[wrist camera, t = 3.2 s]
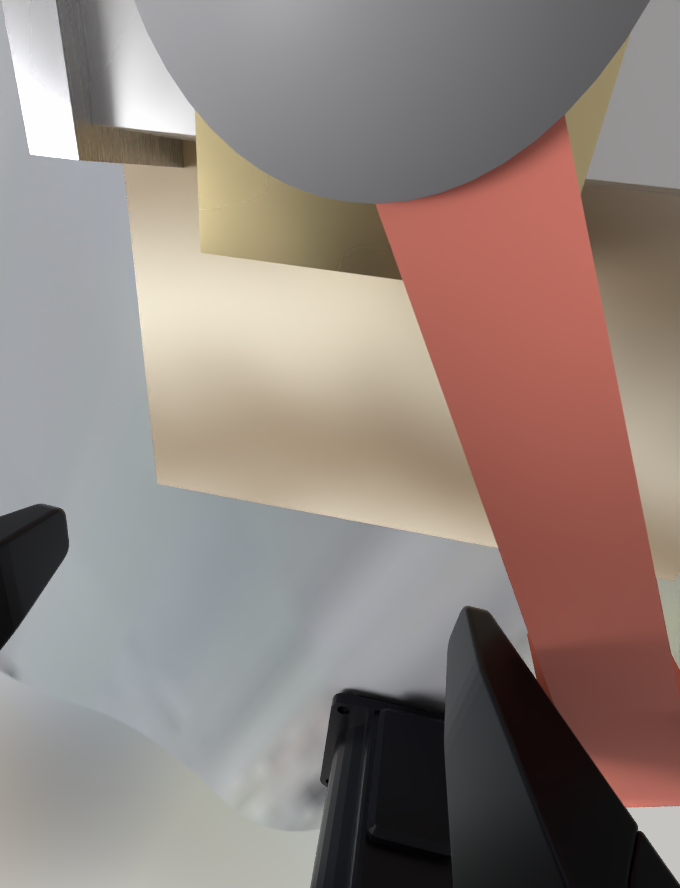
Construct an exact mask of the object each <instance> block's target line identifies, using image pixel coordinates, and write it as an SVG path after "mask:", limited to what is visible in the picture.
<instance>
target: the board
mask: <svg viewBox="0 0 680 888" xmlns="http://www.w3.org/2000/svg"><path fill="white" fill-rule="evenodd" d="M183 155H184V168H178V167H164V166H151V165H138V164H124V163H123V165H124V174H125V184H126V193H127V203H128V212H129V222H130V231H131V240H132V250H133V259H134V269H135V278H136V287H137V297H138V306H139V316H140V325H141V335H142V344H143V353H144V363H145V372H146V382H147V391H148V401H149V410H150V419H151V429H152V438H153V448H154V457H155V467H156V476H157V484H161V485H167V486H172V487H177V488H183V489H188V490H193V491H199V492H204V493H209V494H215V495H220V496H225V497H230V498H236V499H241V500H246V501H252V502H257V503H262V504H268V505H273V506H278V507H284V508H289V509H294V510H300V511H305V512H310V513H315V514H321V515H326V516H331V517H337V518H342V519H347V520H353V521H358V522H363V523H369V524H374V525H379V526H385V527H390V528H395V529H400V530H406V531H411V532H416V533H422V534H427V535H432V536H438V537H443V538H448V539H454V540H459V541H464V542H470V543H475V544H480V545H485V546H491V547H496V548H498V546H497V543H496V540H495V538H494V535H493V532H492V529H491V526H490V524H489V521H488V518H487V515H486V512H485V510H484V507H483V504H482V501H481V498H480V496H479V493H478V490H477V487H476V484H475V482H474V479H473V476H472V473H471V470H470V468H469V465H468V462H467V459H466V456H465V454H464V451H463V448H462V445H461V442H460V440H459V437H458V434H457V431H456V428H455V426H454V423H453V420H452V417H451V414H450V412H449V409H448V406H447V403H446V400H445V398H444V395H443V392H442V389H441V386H440V384H439V381H438V378H437V375H436V372H435V370H434V367H433V364H432V361H431V358H430V356H429V353H428V350H427V347H426V344H425V342H424V339H423V336H422V333H421V330H420V328H419V325H418V322H417V319H416V316H415V314H414V311H413V308H412V305H411V302H410V300H409V297H408V294H407V291H406V288H405V286H404V283H403V280H396V279H389V278H382V277H374V276H367V275H360V274H352V273H345V272H338V271H330V270H323V269H316V268H308V267H301V266H294V265H286V264H279V263H272V262H264V261H257V260H250V259H242V258H235V257H227V256H220V255H213V254H205V253H201V251H200V227H199V202H198V177H197V153H196V142H192V141H183ZM581 200H582V205H583V210H584V215H585V220H586V225H587V230H588V235H589V241H590V246H591V251H592V256H593V261H594V266H595V271H596V276H597V281H598V286H599V291H600V296H601V301H602V306H603V311H604V316H605V322H606V327H607V332H608V337H609V342H610V347H611V352H612V357H613V362H614V367H615V372H616V377H617V382H618V387H619V392H620V398H621V403H622V408H623V413H624V418H625V423H626V428H627V433H628V438H629V443H630V448H631V453H632V458H633V463H634V468H635V473H636V479H637V484H638V489H639V494H640V499H641V504H642V509H643V514H644V519H645V524H646V529H647V534H648V539H649V544H650V549H651V555H652V560H653V565H654V570H655V575H656V578H661V579H666V580H671V581H674V580H675V579H676V577H677V576H678V574H679V572H680V196H674V195H665V194H656V193H647V192H638V191H629V190H620V189H611V188H602V187H593V186H584V185H583V189H582V192H581Z"/></svg>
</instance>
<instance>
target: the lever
mask: <svg viewBox="0 0 680 888" xmlns="http://www.w3.org/2000/svg"><path fill="white" fill-rule="evenodd" d="M649 1H650V0H134V2H135V4H136V7H137V9H138V12H139V14H140V16H141V19H142V21H143V24H144V26H145V29H146V31H147V33H148V35H149V37H150V39H151V41H152V43H153V45H154V47H155V48H156V50H157V52H158V54H159V56H160V58H161V60H162V62H163V64H164V65H165V67H166V69H167V71H168V72H169V74H170V75H171V77H172V78H173V80H174V81H175V83H176V84H177V86H178V87H179V89H180V90H181V92H182V93H183V95H184V96H185V98H186V99H187V101H188V102H189V103H190V104H191V106H192V107H193V108H194V109H195V110H196V111H197V113H198V114H199V115H200V116H201V117H202V119H203V120H204V121H205V122H206V123H207V125H208V126H209V127H210V128H211V129H212V130H213V131H214V132H215V133H216V134H217V135H218V136H219V137H220V138H221V139H222V140H224V141H225V142H226V143H227V144H228V145H229V146H230V147H231V148H232V149H233V150H234V151H235V152H237V153H238V154H239V155H241V156H242V157H243V158H245V159H246V160H248V161H249V162H250V163H252V164H253V165H254V166H256V167H257V168H259V169H260V170H261V171H263V172H265V173H267V174H269V175H271V176H272V177H274V178H276V179H278V180H280V181H282V182H284V183H285V184H287V185H289V186H292V187H295V188H297V189H300V190H303V191H306V192H308V193H311V194H314V195H316V196H320V197H325V198H330V199H335V200H340V201H345V202H356V203H374V204H376V207H377V210H378V213H379V216H380V218H381V221H382V224H383V227H384V230H385V232H386V235H387V238H388V241H389V244H390V246H391V249H392V252H393V255H394V258H395V260H396V263H397V266H398V269H399V272H400V274H401V277H402V280H403V283H404V286H405V288H406V291H407V294H408V297H409V300H410V302H411V305H412V308H413V311H414V314H415V316H416V319H417V322H418V325H419V328H420V330H421V333H422V336H423V339H424V342H425V344H426V347H427V350H428V353H429V356H430V358H431V361H432V364H433V367H434V370H435V372H436V375H437V378H438V381H439V384H440V386H441V389H442V392H443V395H444V398H445V400H446V403H447V406H448V409H449V412H450V414H451V417H452V420H453V423H454V426H455V428H456V431H457V434H458V437H459V440H460V442H461V445H462V448H463V451H464V454H465V456H466V459H467V462H468V465H469V468H470V470H471V473H472V476H473V479H474V482H475V484H476V487H477V490H478V493H479V496H480V498H481V501H482V504H483V507H484V510H485V512H486V515H487V518H488V521H489V524H490V526H491V529H492V532H493V535H494V538H495V540H496V543H497V546H498V549H499V552H500V554H501V557H502V560H503V563H504V566H505V568H506V571H507V574H508V577H509V580H510V582H511V585H512V588H513V591H514V594H515V596H516V599H517V602H518V605H519V608H520V610H521V613H522V616H523V619H524V622H525V624H526V627H527V630H528V633H529V634H527V636H528V641H529V645H530V650H531V655H532V659H533V664H534V669H535V674H536V678H537V681H538V683H539V684H540V685H541V687H542V688H543V690H544V691H545V693H546V694H547V695H548V697H549V698H550V700H551V701H552V703H553V704H554V706H555V707H556V708H557V710H558V711H559V713H560V714H561V716H562V717H563V718H564V720H565V721H566V723H567V724H568V726H569V727H570V729H571V730H572V731H573V733H574V734H575V736H576V737H577V739H578V740H579V741H580V743H581V744H582V746H583V747H584V749H585V750H586V752H587V753H588V754H589V756H590V757H591V759H592V760H593V762H594V763H595V764H596V766H597V767H598V769H599V770H600V772H601V773H602V775H603V776H604V777H605V779H606V780H607V782H608V783H609V785H610V786H611V787H612V789H613V790H614V792H615V793H616V795H617V796H618V798H619V799H620V800H621V802H622V803H623V805H624V806H625V807H658V806H680V670H679V668H678V666H677V664H676V662H675V660H674V658H673V657H672V655H671V651H670V646H669V641H668V636H667V631H666V625H665V620H664V615H663V610H662V605H661V600H660V595H659V590H658V585H657V580H656V575H655V570H654V565H653V560H652V555H651V549H650V544H649V539H648V534H647V529H646V524H645V519H644V514H643V509H642V504H641V499H640V494H639V489H638V484H637V479H636V473H635V468H634V463H633V458H632V453H631V448H630V443H629V438H628V433H627V428H626V423H625V418H624V413H623V408H622V403H621V398H620V392H619V387H618V382H617V377H616V372H615V367H614V362H613V357H612V352H611V347H610V342H609V337H608V332H607V327H606V322H605V316H604V311H603V306H602V301H601V296H600V291H599V286H598V281H597V276H596V271H595V266H594V261H593V256H592V251H591V246H590V241H589V235H588V230H587V225H586V220H585V215H584V210H583V205H582V200H581V195H580V190H579V185H578V180H577V175H576V170H575V165H574V159H573V154H572V149H571V144H570V139H569V134H568V129H567V124H566V119H565V114H566V113H567V112H568V111H569V109H570V108H571V107H572V106H573V105H574V104H575V103H576V102H577V101H578V100H579V98H580V97H581V96H582V95H583V94H584V93H585V92H586V91H587V90H588V89H589V87H590V86H591V85H592V84H593V83H594V82H595V81H596V80H597V78H598V77H599V76H600V74H601V73H602V72H603V70H604V69H605V68H606V66H607V65H608V64H609V62H610V61H611V60H612V58H613V57H614V56H615V54H616V53H617V52H618V50H619V49H620V47H621V46H622V45H623V43H624V42H625V41H626V39H627V38H628V36H629V34H630V33H631V31H632V29H633V28H634V26H635V25H636V23H637V21H638V20H639V18H640V16H641V15H642V13H643V11H644V10H645V8H646V6H647V5H648V3H649Z"/></svg>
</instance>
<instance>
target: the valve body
mask: <svg viewBox="0 0 680 888" xmlns="http://www.w3.org/2000/svg"><path fill="white" fill-rule="evenodd" d="M1 1H2V6H3V11H4V17H5V22H6V27H7V33H8V38H9V43H10V49H11V54H12V59H13V65H14V70H15V75H16V81H17V86H18V91H19V97H20V102H21V107H22V113H23V118H24V123H25V129H26V134H27V139H28V145H29V150H30V154H32V155H40V156H49V157H57V158H65V159H74V160H84V161H97V162H111V163H124V164H138V165H151V166H164V167H178V168H184V155H183V141H192V142H196V153H197V177H198V202H199V227H200V251H201V253H205V254H213V255H220V256H227V257H235V258H242V259H250V260H257V261H264V262H272V263H279V264H286V265H294V266H301V267H308V268H316V269H323V270H330V271H338V272H345V273H352V274H360V275H367V276H374V277H382V278H389V279H396V280H402V277H401V274H400V272H399V269H398V266H397V263H396V260H395V258H394V255H393V252H392V249H391V246H390V244H389V241H388V238H387V235H386V232H385V230H384V227H383V224H382V221H381V218H380V216H379V213H378V210H377V207H376V204H374V203H356V202H345V201H340V200H335V199H330V198H325V197H320V196H316V195H314V194H311V193H308V192H306V191H303V190H300V189H297V188H295V187H292V186H289V185H287V184H285V183H284V182H282V181H280V180H278V179H276V178H274V177H272V176H271V175H269V174H267V173H265V172H263V171H261V170H260V169H259V168H257V167H256V166H254V165H253V164H252V163H250V162H249V161H248V160H246V159H245V158H243V157H242V156H241V155H239V154H238V153H237V152H235V151H234V150H233V149H232V148H231V147H230V146H229V145H228V144H227V143H226V142H225V141H224V140H222V139H221V138H220V137H219V136H218V135H217V134H216V133H215V132H214V131H213V130H212V129H211V128H210V127H209V126H208V125H207V123H206V122H205V121H204V120H203V119H202V117H201V116H200V115H199V114H198V113H197V111H196V110H195V109H194V108H193V107H192V106H191V104H190V103H189V102H188V101H187V99H186V98H185V96H184V95H183V93H182V92H181V90H180V89H179V87H178V86H177V84H176V83H175V81H174V80H173V78H172V77H171V75H170V74H169V72H168V71H167V69H166V67H165V65H164V64H163V62H162V60H161V58H160V56H159V54H158V52H157V50H156V48H155V47H154V45H153V43H152V41H151V39H150V37H149V35H148V33H147V31H146V29H145V26H144V24H143V21H142V19H141V16H140V14H139V12H138V9H137V7H136V4H135V2H134V0H1ZM565 119H566V124H567V129H568V134H569V139H570V144H571V149H572V154H573V159H574V165H575V170H576V175H577V180H578V185H579V190H580V195H581V192H582V189H583V185H584V186H593V187H602V188H611V189H620V190H629V191H638V192H647V193H656V194H665V195H674V196H680V0H650V1H649V3H648V5H647V6H646V8H645V10H644V11H643V13H642V15H641V16H640V18H639V20H638V21H637V23H636V25H635V26H634V28H633V29H632V31H631V33H630V34H629V36H628V38H627V39H626V41H625V42H624V43H623V45H622V46H621V47H620V49H619V50H618V52H617V53H616V54H615V56H614V57H613V58H612V60H611V61H610V62H609V64H608V65H607V66H606V68H605V69H604V70H603V72H602V73H601V74H600V76H599V77H598V78H597V80H596V81H595V82H594V83H593V84H592V85H591V86H590V87H589V89H588V90H587V91H586V92H585V93H584V94H583V95H582V96H581V97H580V98H579V100H578V101H577V102H576V103H575V104H574V105H573V106H572V107H571V108H570V109H569V111H568V112H567V113H566V114H565Z"/></svg>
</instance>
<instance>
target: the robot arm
mask: <svg viewBox="0 0 680 888" xmlns="http://www.w3.org/2000/svg"><path fill="white" fill-rule="evenodd" d="M68 548H69V538H68V530H67V521H66V514H65V512H64V511H63V509H61V508H59V507H54V506H50V505H46V504H36V505H33V506H30V507H27V508H24V509H21V510H18V511H15V512H12V513H9V514H6V515H3V516H0V650H1V649H2V647H3V646H4V645H5V644H6V642H7V641H8V640H9V639H10V637H11V636H12V635H13V634H14V632H15V631H16V629H17V628H18V627H19V625H20V624H21V622H22V621H23V620H24V618H25V617H26V615H27V614H28V612H29V611H30V609H31V608H32V606H33V605H34V603H35V602H36V600H37V599H38V597H39V596H40V594H41V593H42V591H43V590H44V588H45V587H46V585H47V584H48V582H49V581H50V579H51V578H52V576H53V575H54V573H55V572H56V570H57V569H58V567H59V566H60V564H61V563H62V561H63V560H64V558H65V556H66V554H67V552H68ZM320 781H321V783H322V784H323V785H325V786H327V787H328V789H327V794H326V800H325V806H324V812H323V817H322V823H321V829H320V835H319V840H318V846H317V852H316V858H315V863H314V869H313V875H312V881H311V887H310V888H680V884H679V883H678V881H677V880H676V879H675V877H674V876H673V875H672V873H671V872H670V870H669V869H668V868H667V866H666V865H665V863H664V862H663V860H662V859H661V858H660V856H659V855H658V853H657V852H656V850H655V849H654V847H653V846H652V845H651V843H650V842H649V840H648V839H647V838H646V836H645V835H644V833H643V832H641V831H638V826H637V823H636V822H635V821H634V819H633V818H632V816H631V815H630V813H629V812H628V811H627V809H626V808H625V806H624V805H623V803H622V802H621V800H620V799H619V798H618V796H617V795H616V793H615V792H614V790H613V789H612V787H611V786H610V785H609V783H608V782H607V780H606V779H605V777H604V776H603V775H602V773H601V772H600V770H599V769H598V767H597V766H596V764H595V763H594V762H593V760H592V759H591V757H590V756H589V754H588V753H587V752H586V750H585V749H584V747H583V746H582V744H581V743H580V741H579V740H578V739H577V737H576V736H575V734H574V733H573V731H572V730H571V729H570V727H569V726H568V724H567V723H566V721H565V720H564V718H563V717H562V716H561V714H560V713H559V711H558V710H557V708H556V707H555V706H554V704H553V703H552V701H551V700H550V698H549V697H548V695H547V694H546V693H545V691H544V690H543V688H542V687H541V685H540V684H539V683H538V681H537V680H536V678H535V677H534V675H533V674H532V672H531V671H530V670H529V668H528V667H527V665H526V664H525V662H524V661H523V660H522V658H521V657H520V655H519V654H518V652H517V651H516V649H515V648H514V647H513V645H512V644H511V642H510V641H509V639H508V638H507V637H506V635H505V634H504V632H503V631H502V629H501V628H500V626H499V625H498V624H497V622H496V621H495V619H494V618H493V616H492V615H491V614H490V613H489V612H488V611H486V610H483V609H479V608H475V607H471V606H465V607H464V608H463V609H462V610H461V612H460V615H459V617H458V619H457V622H456V624H455V627H454V629H453V631H452V634H451V636H450V639H449V644H448V652H447V676H446V700H445V716H444V715H440V714H435V713H431V712H426V711H422V710H418V709H413V708H409V707H404V706H400V705H395V704H391V703H386V702H382V701H378V700H373V699H369V698H364V697H360V696H355V695H351V694H346V693H339V694H336V695H335V696H334V697H333V701H332V706H331V713H330V719H329V726H328V732H327V739H326V745H325V752H324V758H323V765H322V771H321V778H320Z"/></svg>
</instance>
